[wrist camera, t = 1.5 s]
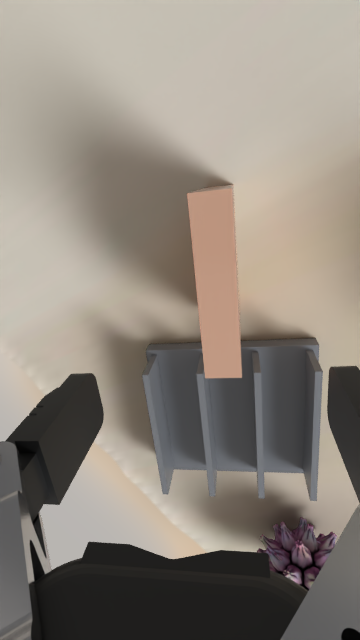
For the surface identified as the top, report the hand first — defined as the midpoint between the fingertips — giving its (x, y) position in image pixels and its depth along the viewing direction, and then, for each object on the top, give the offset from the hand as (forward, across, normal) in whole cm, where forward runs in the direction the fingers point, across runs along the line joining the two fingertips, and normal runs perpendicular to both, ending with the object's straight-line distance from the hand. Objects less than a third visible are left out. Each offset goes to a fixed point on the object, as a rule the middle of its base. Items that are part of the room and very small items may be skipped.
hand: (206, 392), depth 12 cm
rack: (+22, 0, +17) cm, 28 cm away
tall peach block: (+22, 0, 0) cm, 22 cm away
